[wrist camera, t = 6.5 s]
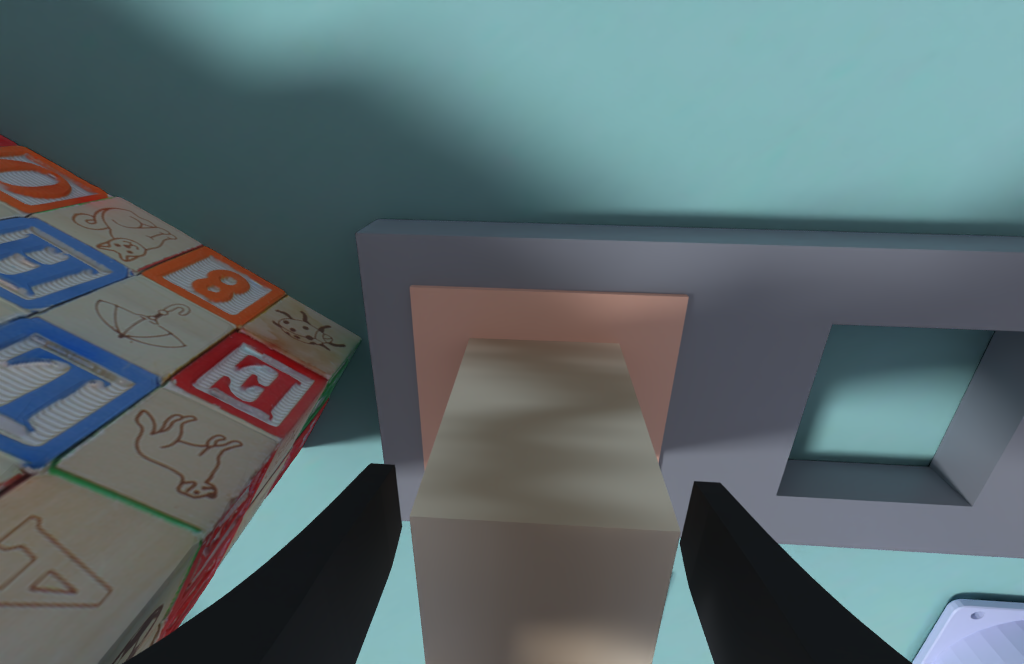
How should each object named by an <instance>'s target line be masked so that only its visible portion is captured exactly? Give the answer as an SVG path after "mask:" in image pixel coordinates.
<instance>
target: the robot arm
mask: <svg viewBox="0 0 1024 664" xmlns="http://www.w3.org/2000/svg"><path fill="white" fill-rule="evenodd" d="M401 529H402V521H401V512H400V504H399V495H398V486H397V477H396V468H395V465H391V464H373V463H371V464H370V465H368V466H367V467H366V468H365V469H364V470H363V471H362V472H361V473H360V474H359V475H358V476H357V477H356V478H355V479H354V480H353V481H352V482H351V483H350V484H349V485H348V486H347V487H346V489H345V490H344V491H343V492H342V493H341V494H340V495H339V496H338V497H337V498H336V499H335V500H334V501H333V502H332V503H331V504H330V505H329V506H328V507H327V508H325V509H324V510H323V511H322V512H321V513H320V514H319V515H318V516H317V517H316V518H315V519H314V520H313V521H312V522H311V523H310V524H309V525H308V526H307V527H306V528H305V529H304V530H303V531H301V532H300V533H299V534H298V535H297V536H296V537H295V538H294V539H292V540H291V541H290V542H289V543H288V544H287V545H286V546H285V547H283V548H282V549H281V550H280V551H279V552H278V553H277V554H276V555H274V556H273V557H272V558H271V559H270V560H269V561H267V562H266V563H265V564H264V565H263V566H261V567H260V568H259V569H258V570H257V571H255V572H254V573H253V574H252V575H250V576H249V577H248V578H247V579H245V580H244V581H243V582H242V583H240V584H239V585H238V586H236V587H235V588H234V589H232V590H231V591H230V592H229V593H227V594H226V595H225V596H223V597H222V598H221V599H219V600H218V601H216V602H215V603H214V604H212V605H211V606H209V607H208V608H206V609H205V610H204V611H202V612H201V613H199V614H198V615H196V616H195V617H193V618H192V619H190V620H189V621H188V622H186V623H185V624H183V625H182V626H180V627H179V628H177V629H176V630H174V631H173V632H171V633H170V634H169V635H167V636H166V637H164V638H162V639H161V640H159V641H158V642H156V643H155V644H153V645H151V646H150V647H148V648H147V649H145V650H143V651H142V652H140V653H139V654H137V655H135V656H134V657H132V658H131V659H129V660H127V661H126V662H124V663H122V664H355V663H356V661H357V658H358V655H359V653H360V650H361V648H362V645H363V642H364V640H365V637H366V634H367V632H368V629H369V627H370V624H371V621H372V619H373V616H374V613H375V611H376V608H377V606H378V603H379V600H380V598H381V595H382V592H383V590H384V587H385V584H386V582H387V579H388V576H389V573H390V571H391V568H392V564H393V561H394V557H395V553H396V549H397V545H398V541H399V537H400V533H401ZM680 547H681V552H682V557H683V562H684V567H685V571H686V576H687V580H688V585H689V589H690V592H691V595H692V598H693V601H694V604H695V607H696V610H697V613H698V616H699V619H700V622H701V625H702V628H703V631H704V634H705V637H706V640H707V643H708V646H709V649H710V652H711V655H712V658H713V661H714V663H715V664H1024V603H1017V602H1002V601H987V600H971V599H957V600H953V601H951V602H950V603H949V604H948V605H947V606H946V608H945V609H944V611H943V613H942V614H941V616H940V618H939V619H938V621H937V623H936V624H935V626H934V628H933V629H932V631H931V633H930V634H929V636H928V638H927V639H926V641H925V642H924V644H923V646H922V647H921V649H920V651H919V652H918V654H917V656H916V657H915V659H914V661H913V662H912V663H911V662H910V661H908V660H907V659H906V658H905V657H903V656H902V655H901V654H900V653H898V652H897V651H896V650H894V649H893V648H892V647H891V646H890V645H888V644H887V643H886V642H885V641H884V640H882V639H881V638H880V637H879V636H878V635H876V634H875V633H874V632H873V631H872V630H870V629H869V628H868V627H867V626H866V625H864V624H863V623H862V622H861V621H860V620H858V619H857V618H856V617H855V616H854V615H853V614H851V613H850V612H849V611H848V610H847V609H846V608H845V607H843V606H842V605H841V604H840V603H839V602H838V601H837V600H836V599H835V598H834V597H832V596H831V595H830V594H829V593H828V592H827V591H826V590H825V589H824V588H823V587H822V586H821V585H820V584H818V583H817V582H816V581H815V580H814V579H813V578H812V577H811V576H810V575H809V574H808V573H807V572H806V571H805V570H804V569H803V568H802V567H801V566H800V565H799V564H798V563H797V562H795V561H794V560H793V559H792V558H791V557H790V556H789V555H788V554H787V552H786V551H785V550H784V549H783V548H782V547H781V546H780V545H779V544H778V543H777V542H776V541H775V540H774V539H773V538H772V537H771V536H770V535H769V534H768V533H767V532H766V531H765V530H764V529H763V528H762V527H761V526H760V524H759V523H758V522H757V521H756V520H755V519H754V518H753V517H752V516H751V515H750V514H749V513H748V512H747V511H746V510H745V508H744V507H743V506H742V505H741V504H740V503H739V502H738V501H737V500H736V499H735V498H734V497H733V495H732V494H731V493H730V492H729V491H728V490H727V489H726V488H725V487H724V486H723V485H722V484H721V483H720V482H703V481H694V483H693V488H692V492H691V496H690V501H689V505H688V510H687V514H686V518H685V523H684V527H683V531H682V536H681V540H680Z"/></svg>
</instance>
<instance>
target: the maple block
mask: <svg viewBox="0 0 1024 664" xmlns="http://www.w3.org/2000/svg"><path fill="white" fill-rule="evenodd" d="M410 525H411V534H412V543H413V552H414V562H415V571H416V580H417V589H418V598H419V607H420V616H421V626H422V635H423V644H424V653H425V662H426V664H652V660H653V656H654V651H655V646H656V642H657V637H658V633H659V628H660V624H661V619H662V615H663V610H664V606H665V601H666V596H667V592H668V587H669V583H670V578H671V574H672V569H673V565H674V560H675V555H676V551H677V546H678V542H679V537H680V533H681V531H680V528H679V525H678V522H677V519H676V516H675V513H674V510H673V506H672V503H671V500H670V497H669V494H668V491H667V488H666V485H665V482H664V479H663V476H662V473H661V470H660V467H659V464H658V460H657V457H656V454H655V451H654V448H653V445H652V442H651V439H650V436H649V433H648V430H647V427H646V424H645V421H644V418H643V415H642V411H641V408H640V405H639V402H638V399H637V396H636V393H635V390H634V387H633V384H632V381H631V378H630V375H629V372H628V369H627V365H626V362H625V359H624V356H623V353H622V350H621V347H620V344H619V343H593V342H566V341H538V340H511V339H483V338H469V341H468V344H467V347H466V350H465V353H464V356H463V359H462V362H461V365H460V368H459V371H458V374H457V377H456V380H455V383H454V386H453V389H452V392H451V395H450V398H449V401H448V403H447V406H446V409H445V412H444V415H443V418H442V421H441V424H440V427H439V430H438V433H437V436H436V439H435V442H434V445H433V448H432V451H431V454H430V457H429V460H428V463H427V466H426V469H425V472H424V475H423V478H422V481H421V484H420V487H419V490H418V493H417V496H416V499H415V502H414V504H413V507H412V510H411V513H410Z"/></svg>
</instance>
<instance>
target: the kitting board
mask: <svg viewBox="0 0 1024 664" xmlns="http://www.w3.org/2000/svg"><path fill="white" fill-rule="evenodd" d="M355 236H356V243H357V251H358V259H359V267H360V275H361V283H362V291H363V299H364V307H365V315H366V323H367V331H368V339H369V347H370V354H371V362H372V370H373V378H374V386H375V394H376V402H377V410H378V418H379V426H380V434H381V442H382V450H383V458H384V464H391V465H395V468H396V477H397V486H398V495H399V504H400V512H401V521H410V513H411V510H412V507H413V504H414V502H415V499H416V496H417V493H418V490H419V487H420V484H421V481H422V478H423V475H424V472H425V469H426V466H427V463H428V460H429V457H430V454H431V451H432V448H433V445H434V442H435V439H436V436H437V433H438V430H439V427H440V424H441V421H442V418H443V415H444V412H445V409H446V406H447V403H448V401H449V398H450V395H451V392H452V389H453V386H454V383H455V380H456V377H457V374H458V371H459V368H460V365H461V362H462V359H463V356H464V353H465V350H466V347H467V344H468V341H469V338H483V339H511V340H538V341H566V342H593V343H619V344H620V347H621V350H622V353H623V356H624V359H625V362H626V365H627V369H628V372H629V375H630V378H631V381H632V384H633V387H634V390H635V393H636V396H637V399H638V402H639V405H640V408H641V411H642V415H643V418H644V421H645V424H646V427H647V430H648V433H649V436H650V439H651V442H652V445H653V448H654V451H655V454H656V457H657V460H658V464H659V467H660V470H661V473H662V476H663V479H664V482H665V485H666V488H667V491H668V494H669V497H670V500H671V503H672V506H673V510H674V513H675V516H676V519H677V522H678V525H679V528H680V531H681V533H680V537H679V538H681V536H682V531H683V527H684V523H685V518H686V514H687V510H688V505H689V501H690V496H691V492H692V488H693V483H694V481H703V482H720V483H721V484H722V485H723V486H724V487H725V488H726V489H727V490H728V491H729V492H730V493H731V494H732V495H733V497H734V498H735V499H736V500H737V501H738V502H739V503H740V504H741V505H742V506H743V507H744V508H745V510H746V511H747V512H748V513H749V514H750V515H751V516H752V517H753V518H754V519H755V520H756V521H757V522H758V523H759V524H760V526H761V527H762V528H763V529H764V530H765V531H766V532H767V533H768V534H769V535H770V536H771V537H772V538H773V539H774V540H775V541H776V542H777V543H778V544H794V545H811V546H827V547H844V548H860V549H877V550H893V551H909V552H926V553H942V554H959V555H975V556H992V557H1008V558H1024V237H1018V236H982V235H945V234H909V233H873V232H836V231H800V230H763V229H727V228H691V227H654V226H618V225H582V224H545V223H509V222H472V221H436V220H400V219H377V220H375V221H374V222H372V223H370V224H369V225H367V226H366V227H364V228H362V229H361V230H359V231H358V232H356V233H355ZM832 324H839V325H865V326H892V327H919V328H946V329H973V330H996V331H995V333H994V335H993V337H992V339H991V341H990V343H989V345H988V347H987V349H986V351H985V353H984V355H983V358H982V360H981V362H980V364H979V366H978V368H977V370H976V372H975V374H974V376H973V378H972V380H971V382H970V384H969V386H968V388H967V390H966V392H965V394H964V396H963V398H962V400H961V402H960V404H959V406H958V409H957V411H956V413H955V415H954V417H953V419H952V421H951V423H950V425H949V427H948V429H947V431H946V433H945V435H944V437H943V439H942V441H941V443H940V445H939V447H938V449H937V451H936V453H935V455H934V457H933V460H932V462H931V464H930V466H929V467H924V466H904V465H885V464H866V463H846V462H827V461H808V460H788V458H789V455H790V451H791V448H792V445H793V442H794V439H795V436H796V433H797V430H798V427H799V424H800V421H801V418H802V415H803V412H804V409H805V406H806V403H807V400H808V397H809V394H810V390H811V387H812V384H813V381H814V378H815V375H816V372H817V369H818V366H819V363H820V360H821V357H822V354H823V351H824V348H825V345H826V342H827V339H828V336H829V332H830V329H831V326H832Z"/></svg>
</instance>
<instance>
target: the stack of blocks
mask: <svg viewBox="0 0 1024 664" xmlns="http://www.w3.org/2000/svg"><path fill="white" fill-rule="evenodd" d="M360 342H361V338H360V337H359V336H358V335H356V334H354V333H352V332H351V331H349V330H347V329H345V328H344V327H342V326H340V325H338V324H337V323H335V322H333V321H331V320H330V319H328V318H326V317H325V316H323V315H321V314H319V313H318V312H316V311H314V310H313V309H311V308H309V307H307V306H306V305H304V304H302V303H300V302H299V301H297V300H295V299H293V298H292V297H290V296H288V295H287V294H286V293H285V292H284V291H283V290H282V289H280V288H278V287H277V286H275V285H273V284H271V283H270V282H268V281H266V280H264V279H263V278H261V277H259V276H257V275H256V274H254V273H252V272H250V271H249V270H247V269H245V268H243V267H242V266H240V265H238V264H236V263H235V262H233V261H231V260H229V259H228V258H226V257H224V256H223V255H221V254H219V253H217V252H216V251H214V250H212V249H210V248H208V247H206V246H203V245H202V244H201V243H200V242H198V241H197V240H195V239H193V238H191V237H190V236H188V235H186V234H185V233H183V232H182V231H180V230H178V229H176V228H175V227H173V226H171V225H169V224H167V223H165V222H164V221H162V220H160V219H159V218H157V217H155V216H153V215H152V214H150V213H148V212H146V211H145V210H143V209H141V208H139V207H137V206H135V205H134V204H132V203H131V202H129V201H127V200H125V199H123V198H121V197H113V196H111V195H109V194H107V193H106V192H105V191H103V190H102V189H100V188H99V187H96V186H94V185H92V184H90V183H88V182H87V181H85V180H83V179H81V178H79V177H77V176H75V175H74V174H72V173H71V172H69V171H67V170H66V169H64V168H62V167H60V166H58V165H57V164H55V163H53V162H51V161H49V160H48V159H46V158H44V157H42V156H41V155H39V154H37V153H35V152H34V151H32V150H30V149H28V148H27V147H23V146H18V145H17V144H16V143H15V142H13V141H11V140H9V139H7V138H6V137H4V136H2V135H0V664H122V663H124V662H126V661H127V660H129V659H131V658H132V657H134V656H135V655H137V654H139V653H140V652H142V651H143V650H145V649H147V648H148V647H150V646H151V645H153V644H155V643H156V642H158V641H159V640H161V639H162V638H164V637H166V636H167V635H169V634H170V633H171V632H173V631H174V630H176V629H177V628H178V627H179V625H180V624H181V622H182V621H183V619H184V618H185V616H186V615H187V614H188V613H189V611H190V610H191V609H192V607H193V606H194V604H195V603H196V601H197V600H198V598H199V597H200V595H201V594H202V592H203V591H204V590H205V588H206V587H207V585H208V584H209V582H210V580H211V579H212V577H213V576H214V574H215V572H216V569H217V568H218V567H219V565H220V564H221V562H222V561H223V559H224V558H225V556H226V555H227V554H228V552H229V551H230V549H231V548H232V546H233V545H234V543H235V542H236V540H237V539H238V538H239V536H240V535H241V533H242V532H243V530H244V529H245V527H246V526H247V525H248V523H249V522H250V520H251V519H252V517H253V516H254V514H255V513H256V511H257V510H258V508H259V507H260V505H261V504H262V502H263V500H264V499H265V498H266V497H267V496H268V495H269V493H270V492H271V491H272V489H273V488H274V486H275V485H276V484H277V482H278V481H279V480H280V478H281V477H282V475H283V474H284V472H285V471H286V470H287V468H288V467H289V465H290V464H291V462H292V461H293V460H294V458H295V457H296V456H297V454H298V453H299V452H300V450H301V448H302V447H303V445H304V443H305V441H306V440H307V438H308V436H309V434H310V433H311V431H312V429H313V427H314V426H315V424H316V422H317V420H318V418H319V417H320V415H321V413H322V411H323V409H324V408H325V406H326V404H327V402H328V401H329V396H330V394H331V392H332V391H333V389H334V387H335V385H336V384H337V382H338V380H339V378H340V377H341V375H342V373H343V371H344V370H345V368H346V366H347V364H348V363H349V361H350V359H351V357H352V356H353V354H354V352H355V350H356V349H357V347H358V345H359V344H360Z"/></svg>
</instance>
